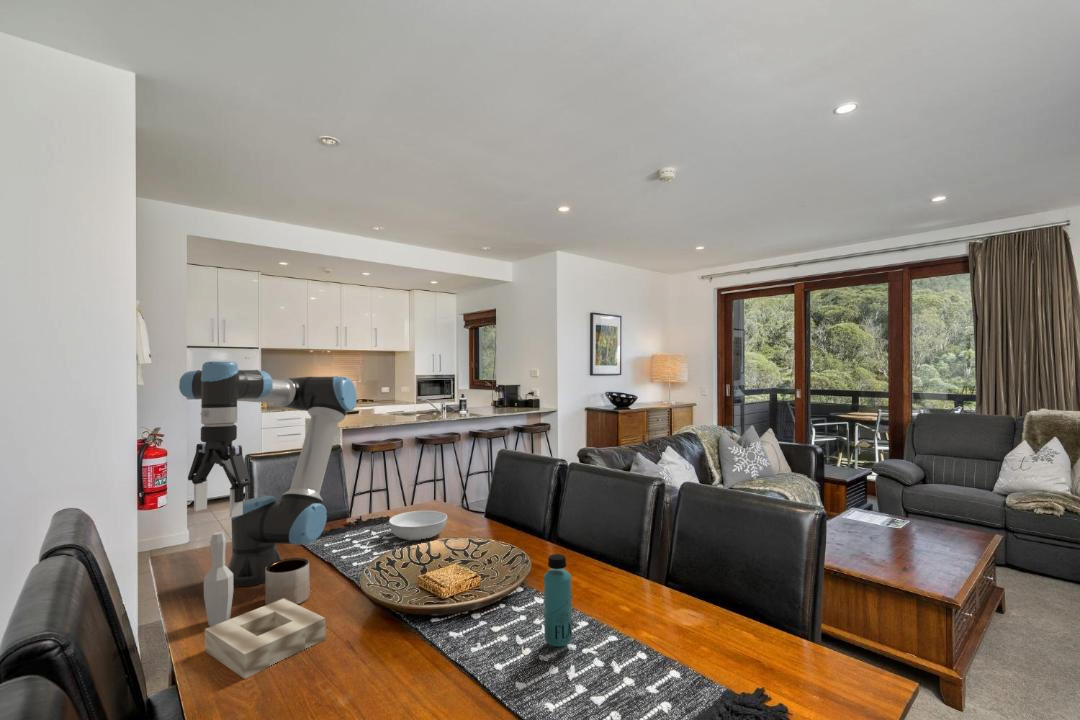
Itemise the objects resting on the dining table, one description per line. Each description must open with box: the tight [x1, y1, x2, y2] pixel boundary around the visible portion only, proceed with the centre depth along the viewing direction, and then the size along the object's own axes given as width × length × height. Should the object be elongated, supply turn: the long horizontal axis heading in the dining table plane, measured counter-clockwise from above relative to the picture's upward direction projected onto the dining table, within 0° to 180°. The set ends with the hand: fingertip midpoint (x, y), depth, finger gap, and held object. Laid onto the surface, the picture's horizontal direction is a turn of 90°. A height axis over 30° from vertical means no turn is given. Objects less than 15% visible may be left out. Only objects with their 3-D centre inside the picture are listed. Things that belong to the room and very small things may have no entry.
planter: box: [264, 557, 311, 606], centre depth 141 cm, size 11×11×10 cm
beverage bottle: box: [543, 553, 574, 647], centre depth 117 cm, size 6×7×20 cm
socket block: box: [204, 599, 327, 679], centre depth 118 cm, size 18×18×5 cm
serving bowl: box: [388, 510, 448, 541], centre depth 192 cm, size 21×21×7 cm
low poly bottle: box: [203, 531, 234, 627], centre depth 130 cm, size 6×6×22 cm
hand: (217, 513), depth 126 cm, fingers open, 13 cm apart
